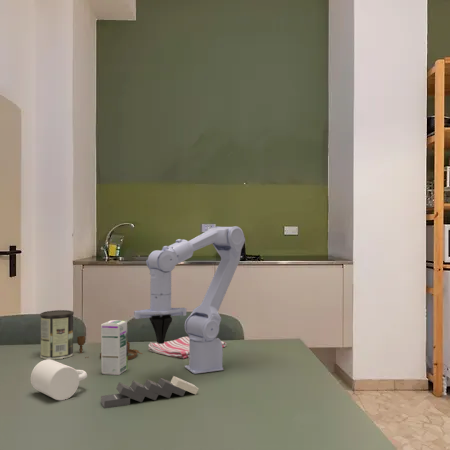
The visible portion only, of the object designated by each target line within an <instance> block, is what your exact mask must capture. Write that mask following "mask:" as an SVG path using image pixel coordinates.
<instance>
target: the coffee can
mask: <svg viewBox="0 0 450 450" xmlns="http://www.w3.org/2000/svg"><path fill="white" fill-rule="evenodd" d="M72 356H74V311H73V310H67V309H64V310H62V309H57V310H47V311H43V312H40V359H43V360H47V359H51V360H54V361H56V360H62V359H63V358H64V359H68V358H70V357H72Z"/></svg>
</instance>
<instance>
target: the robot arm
mask: <svg viewBox="0 0 450 450" xmlns="http://www.w3.org/2000/svg"><path fill="white" fill-rule="evenodd" d="M245 242H246V238H245V234H244V231H243V230H242V228H241V227H239V226H237V225H235V226H214V227H212V228H209V229H207V230H206V231H204V232H203V233H201V234H199V235H197V236H196V237H194V238H192V239H190V240H187V239H181V238H178V239H176V240H175V242H174V243H172V244H170V245H164V246H162V248H161V250H159V249H157V250H155V249H154V250H153V251H152V252H151V253H150V254H149V255H148V257H147V259H146V261H145V262H146V263H145V264H146V267H148V270H149V275H150V287H149V288H150V289H149V290H150V291H149V292H150V293H149V294H150V295H149V296H150V302H149V303H150V305H149V307H150V308H148V309H141V310H133V318H134V319H135V320H140V319H145V318H146V319H148V318H149V321H150V323H151V325H152V328H153V330H154V335H155V338H156V339H155V340H156V343H158V344H164V342H165V339H166V335H167V333H168V331H169V328H170V325H171V323H172V322H173V316H174V317H176V316H187V308H185V307H172V271H173V270H175V267H176V265H178V264H181V263H183V262H184V261H186V260H188V259H190V258H192V257H193V255H194V252H195V251H198V250H200V249H202V248H205V247H207V246H209V245H212V246H213V247H214V248H215V250H216V252H217V253H218V255H219V256H220V261H219V263H218V265H217V268H216V270H215V273H214V275H213V277H212V279H211V280H210V284H209V286H208V288H207V290H206V293H205V295H204V297H203V300H202V302H201V303H200V305H198V306H196V307H195V308H193V310H192V312H191V313H190V314H189V315H188V317H187V318H186V319H185V322H184V326H183V327H184V331H185V333H186V334H187V335H188V336H187V337H188V338H190V340H189V358H188V360H189V362H188V363H189V364H187V365H184V368H185V369H186V370H188V371H189V372H191V373H192V374H194V375H196V374H204V373H211V372H217V371H219V372H220V371H224V367H223V358H224V357H223V350H224V347H223V348H222V343H221V341H222V340H221V339H220V338H219V337H218V335H219V333H220V325H221V321H222V317H221V314H220V313H219V309H220V307H221V305H222V303H223V301H224V298H225V296H226V294H227V291H228V289H229V287H230V284H231V282H232V280H233V278H234V274H235V273H236V270H237V268H238V266H239V263H240V260H241V253H242V249H243V247H244V244H245Z"/></svg>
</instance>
